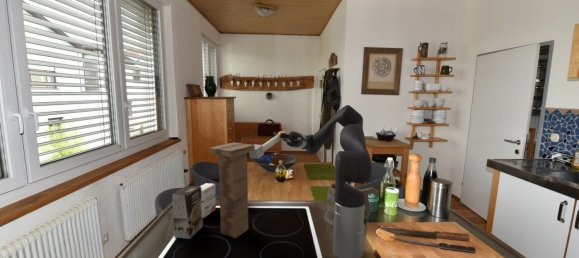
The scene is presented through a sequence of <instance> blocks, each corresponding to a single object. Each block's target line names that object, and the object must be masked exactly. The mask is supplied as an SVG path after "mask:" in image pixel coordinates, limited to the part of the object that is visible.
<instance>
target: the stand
mask: <svg viewBox="0 0 579 258" xmlns="http://www.w3.org/2000/svg"><path fill="white" fill-rule="evenodd" d="M251 151H255V145H254V144H248V143H241V142H229V143H226V144H220V145H217V146H213V147H209V154H210V155H211V154H212V155H215V156H216V155H217V156H218V177H219V178H218V179H219V181H218V183H219V211H220V212H219V213H220V215H219V216H220V219H219V220H220V234H222V235H225V236H228V237H231V238H233V239H237V238H239V237H240V236H241V235H242V234H244V233H246V232H247V231H249V201H248V200H249V195H248V194H249V193H248V192H249V191H248V189H249V187H248V186H249V185H248V154H249V152H251Z"/></svg>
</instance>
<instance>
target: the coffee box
mask: <svg viewBox="0 0 579 258" xmlns="http://www.w3.org/2000/svg"><path fill="white" fill-rule="evenodd" d="M171 198H172V214H173V215H172V216H173V237H174V238H180V239H186V240H190V239H191V238H193V237H194V236H195V235H196V234H197V233H198V232H199V231H200V230H201V229H202V228H203V227H204V226H203V225H204V224H203V218H202V196H201V187H200V186H198V185H186V186H184V187H181V188H180V189H178V190H176V191H175V192H173V193H172V197H171Z"/></svg>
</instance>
